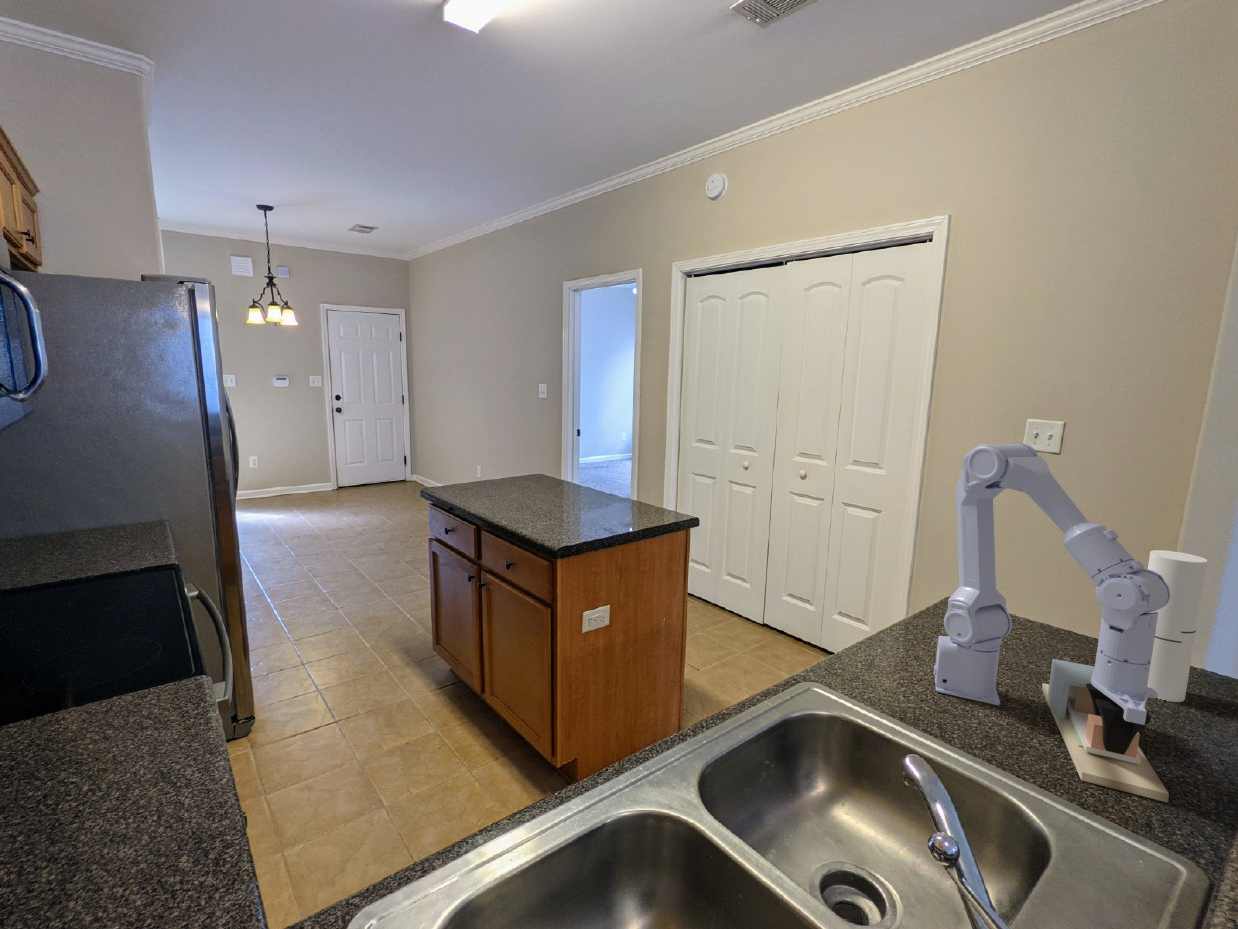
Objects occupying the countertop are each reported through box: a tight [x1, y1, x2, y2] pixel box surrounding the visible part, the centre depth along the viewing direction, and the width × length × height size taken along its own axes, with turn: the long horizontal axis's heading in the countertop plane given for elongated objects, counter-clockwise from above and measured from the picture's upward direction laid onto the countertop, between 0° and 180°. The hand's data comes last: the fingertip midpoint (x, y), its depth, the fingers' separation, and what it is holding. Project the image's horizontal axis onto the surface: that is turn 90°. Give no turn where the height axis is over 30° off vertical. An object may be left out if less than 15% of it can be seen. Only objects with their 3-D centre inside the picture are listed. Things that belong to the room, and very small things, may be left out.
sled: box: [1066, 685, 1141, 764], centre depth 89 cm, size 6×17×5 cm, turn 153°
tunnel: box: [1048, 658, 1095, 720], centre depth 93 cm, size 9×8×8 cm
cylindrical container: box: [1147, 549, 1208, 703], centre depth 101 cm, size 7×7×25 cm
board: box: [1041, 683, 1170, 803], centre depth 89 cm, size 9×27×1 cm, turn 153°
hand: (1110, 744), depth 82 cm, fingers closed on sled, 3 cm apart
